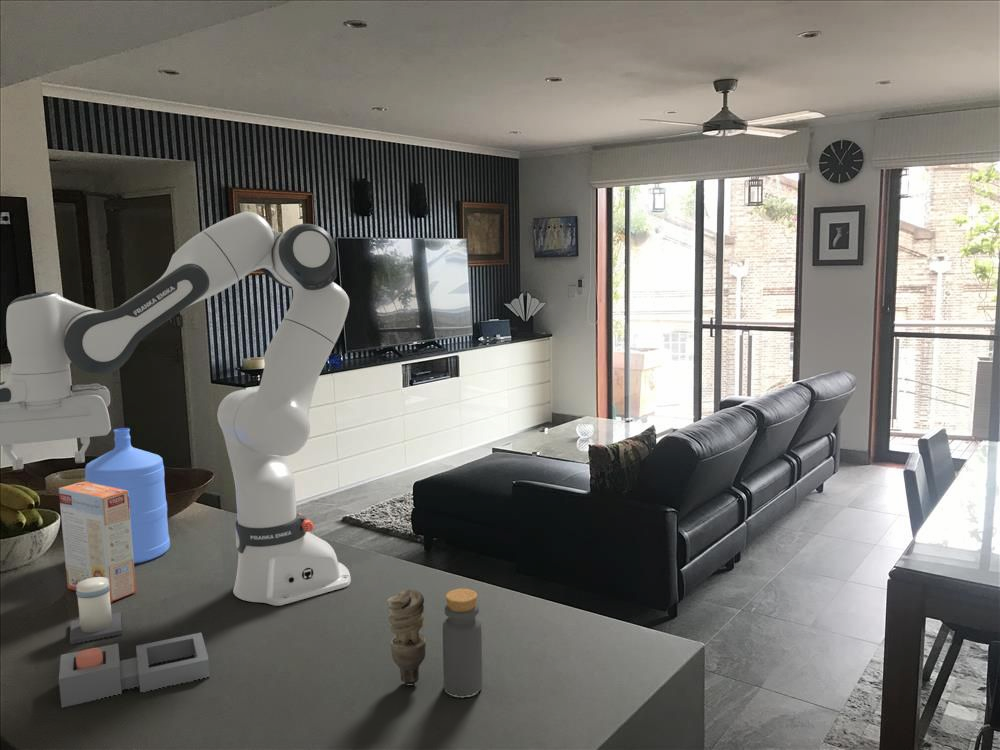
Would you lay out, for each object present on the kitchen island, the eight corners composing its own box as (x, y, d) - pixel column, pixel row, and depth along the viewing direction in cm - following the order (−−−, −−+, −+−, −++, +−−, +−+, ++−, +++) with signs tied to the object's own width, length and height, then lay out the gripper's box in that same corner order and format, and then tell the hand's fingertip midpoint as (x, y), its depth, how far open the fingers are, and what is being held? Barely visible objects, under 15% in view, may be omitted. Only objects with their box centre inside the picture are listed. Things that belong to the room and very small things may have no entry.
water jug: (185, 548, 180) (176, 426, 176) (120, 572, 167) (108, 441, 163) (142, 536, 188) (132, 419, 184) (77, 558, 175) (65, 432, 171)
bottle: (461, 674, 126) (460, 583, 124) (490, 686, 122) (489, 593, 120) (435, 690, 122) (433, 596, 119) (464, 703, 118) (462, 607, 116)
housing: (202, 649, 135) (200, 623, 134) (210, 677, 126) (208, 650, 125) (64, 678, 126) (61, 651, 125) (61, 711, 117) (58, 682, 116)
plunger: (105, 676, 125) (102, 646, 124) (105, 687, 122) (102, 656, 121) (79, 681, 124) (76, 651, 123) (78, 693, 121) (75, 662, 120)
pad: (120, 616, 147) (120, 611, 147) (121, 634, 140) (121, 630, 140) (71, 625, 144) (71, 621, 143) (70, 644, 137) (69, 640, 136)
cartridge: (112, 616, 145) (108, 574, 144) (113, 628, 140) (109, 585, 139) (80, 622, 143) (76, 580, 142) (79, 635, 138) (75, 591, 137)
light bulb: (392, 696, 120) (389, 601, 118) (387, 677, 125) (384, 586, 123) (429, 690, 121) (427, 596, 119) (423, 672, 127) (420, 582, 124)
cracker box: (138, 592, 157) (129, 489, 154) (110, 604, 152) (100, 497, 149) (95, 578, 164) (85, 479, 161) (66, 589, 159) (56, 487, 156)
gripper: (108, 380, 146) (115, 454, 148) (-25, 389, 137) (-16, 468, 139) (109, 385, 140) (115, 462, 142) (-30, 395, 131) (-21, 477, 133)
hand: (49, 465), depth 140 cm, fingers open, 8 cm apart
